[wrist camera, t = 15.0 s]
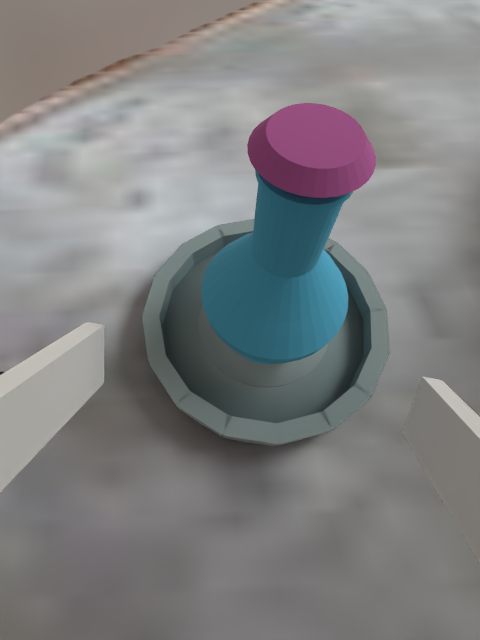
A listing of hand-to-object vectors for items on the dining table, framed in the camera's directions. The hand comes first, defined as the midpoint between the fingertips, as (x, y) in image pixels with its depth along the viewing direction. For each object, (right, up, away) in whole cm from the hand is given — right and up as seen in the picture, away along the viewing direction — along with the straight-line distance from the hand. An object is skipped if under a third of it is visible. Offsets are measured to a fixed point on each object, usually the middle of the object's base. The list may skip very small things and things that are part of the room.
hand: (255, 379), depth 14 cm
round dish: (+1, +2, +12) cm, 12 cm away
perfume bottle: (+1, +2, +11) cm, 12 cm away
